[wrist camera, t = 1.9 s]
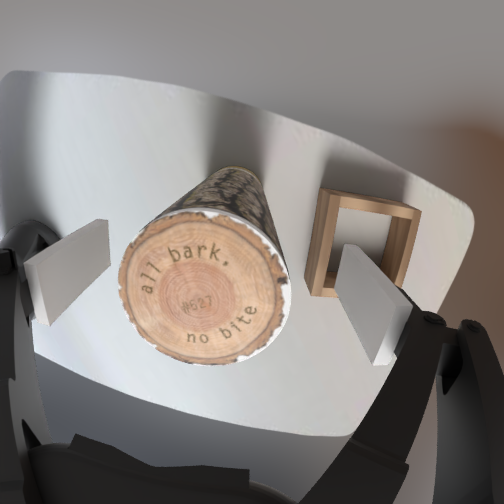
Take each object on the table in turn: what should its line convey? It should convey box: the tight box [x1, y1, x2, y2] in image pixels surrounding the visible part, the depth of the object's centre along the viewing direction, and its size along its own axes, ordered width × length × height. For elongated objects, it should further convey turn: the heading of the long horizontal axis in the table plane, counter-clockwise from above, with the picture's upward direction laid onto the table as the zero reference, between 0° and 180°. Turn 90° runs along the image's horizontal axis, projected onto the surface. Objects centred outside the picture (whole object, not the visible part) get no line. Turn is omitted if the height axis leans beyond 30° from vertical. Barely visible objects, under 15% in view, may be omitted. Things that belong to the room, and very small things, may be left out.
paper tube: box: [118, 166, 291, 366], centre depth 22 cm, size 7×7×25 cm
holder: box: [304, 188, 422, 298], centre depth 34 cm, size 12×12×5 cm
